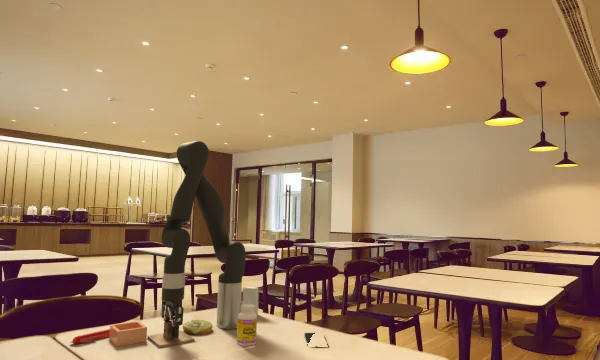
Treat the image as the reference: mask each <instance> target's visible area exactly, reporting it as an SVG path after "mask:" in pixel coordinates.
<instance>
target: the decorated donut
mask: <svg viewBox="0 0 600 360" xmlns="http://www.w3.org/2000/svg"><path fill="white" fill-rule="evenodd" d="M213 328H214V327H213V323H212V322H211V321H208V320H206V319H205V320H204V319H191V320H190V321H186V322H183V324H182V329H183V332H184V333H186V334H188V335H206V334H207V335H208V334H209V333H210V332H212V331H213V330H212V329H213Z"/></svg>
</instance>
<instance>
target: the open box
mask: <svg viewBox="0 0 600 360" xmlns="http://www.w3.org/2000/svg"><path fill="white" fill-rule="evenodd" d="M109 329H110V336H109V337H108V338H109V341H111V342H112V343H113V345H115V346H116V347H121V346H126V345H132V344H139V343H143V342H144V343H145V342H147V338H148V334H147V333H148V327H147V326H146V325H145V324H143V323H142V322H141V321H140V320H136V321H131V322H130V321H129V322H123V323H122V322H121V323H116V324H115V323H114V324H110V325H109Z"/></svg>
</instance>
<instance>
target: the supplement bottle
mask: <svg viewBox="0 0 600 360" xmlns="http://www.w3.org/2000/svg"><path fill="white" fill-rule="evenodd" d="M254 309H255V305H253V304H243V305H241V310H242V311H241V312H240V313H239V314H238V322H237V328H236V344H237V345H239V346H242V347H243V346H244V347H245V346H246V347H248V346H253V345H256V343H257V328H258V327H257V325H258V315H257V314H256V313H255V312H254Z"/></svg>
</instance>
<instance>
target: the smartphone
mask: <svg viewBox="0 0 600 360" xmlns="http://www.w3.org/2000/svg"><path fill="white" fill-rule="evenodd" d="M315 333H316V332H305V333H304V334H303V336H304V335H305V336H304V339H306V340H305V343H306V342H307V343H309V342H310V340H311V339H310V338H311V337H312V335H313V334H315ZM307 346H308V344H306V347H307Z"/></svg>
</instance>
